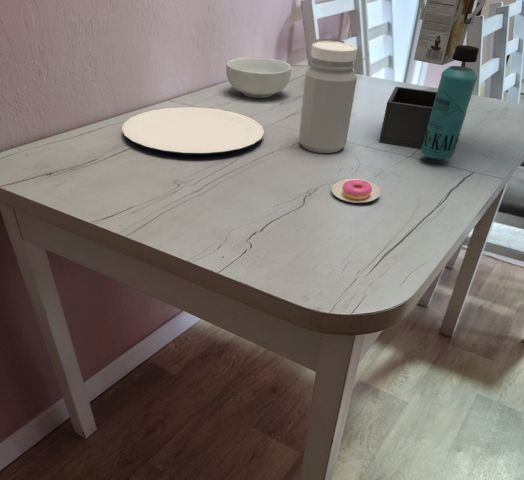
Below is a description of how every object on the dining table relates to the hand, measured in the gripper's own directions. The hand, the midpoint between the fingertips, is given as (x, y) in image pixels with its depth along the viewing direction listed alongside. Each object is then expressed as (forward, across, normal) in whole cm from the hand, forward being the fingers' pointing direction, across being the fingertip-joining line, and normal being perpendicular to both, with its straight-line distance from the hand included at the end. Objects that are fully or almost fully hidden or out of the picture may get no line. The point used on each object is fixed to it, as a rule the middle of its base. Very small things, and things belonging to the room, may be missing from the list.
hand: (445, 22), depth 94 cm
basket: (+22, 0, 0) cm, 22 cm away
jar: (+22, +18, +16) cm, 33 cm away
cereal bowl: (+22, +43, -16) cm, 51 cm away
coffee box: (+7, 0, 0) cm, 7 cm away
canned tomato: (+22, +29, -35) cm, 50 cm away
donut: (+22, +7, +36) cm, 43 cm away
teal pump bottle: (+22, -5, +14) cm, 26 cm away
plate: (+22, +44, +22) cm, 54 cm away
